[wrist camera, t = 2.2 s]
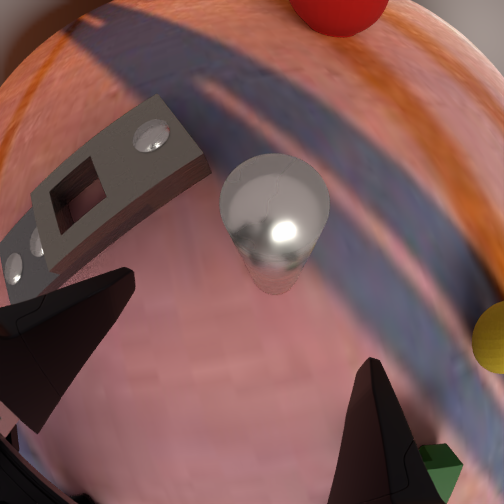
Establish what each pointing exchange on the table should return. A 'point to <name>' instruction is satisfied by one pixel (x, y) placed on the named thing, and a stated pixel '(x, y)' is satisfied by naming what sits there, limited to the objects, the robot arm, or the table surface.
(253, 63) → the table surface
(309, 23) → the ceramic cup
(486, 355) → the lemon
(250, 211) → the steel pin
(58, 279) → the plate
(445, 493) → the clamp
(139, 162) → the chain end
